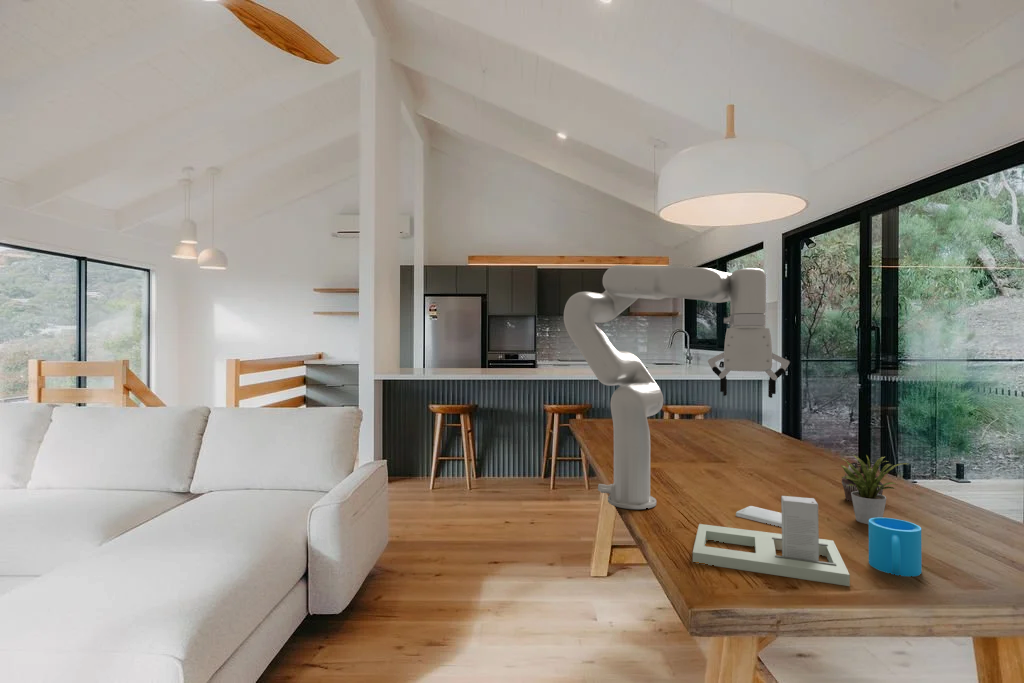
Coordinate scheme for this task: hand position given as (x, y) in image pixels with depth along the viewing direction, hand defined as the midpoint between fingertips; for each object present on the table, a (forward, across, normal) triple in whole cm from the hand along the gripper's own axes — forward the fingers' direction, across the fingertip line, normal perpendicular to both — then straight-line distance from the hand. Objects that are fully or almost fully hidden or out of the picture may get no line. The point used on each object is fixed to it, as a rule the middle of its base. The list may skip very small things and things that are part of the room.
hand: (747, 396), depth 125 cm
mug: (+30, +25, -16) cm, 42 cm away
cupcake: (+30, +29, +35) cm, 55 cm away
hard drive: (+31, +5, +8) cm, 32 cm away
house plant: (+30, +28, +16) cm, 44 cm away
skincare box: (+30, +9, -18) cm, 36 cm away
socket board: (+30, +3, -18) cm, 35 cm away
